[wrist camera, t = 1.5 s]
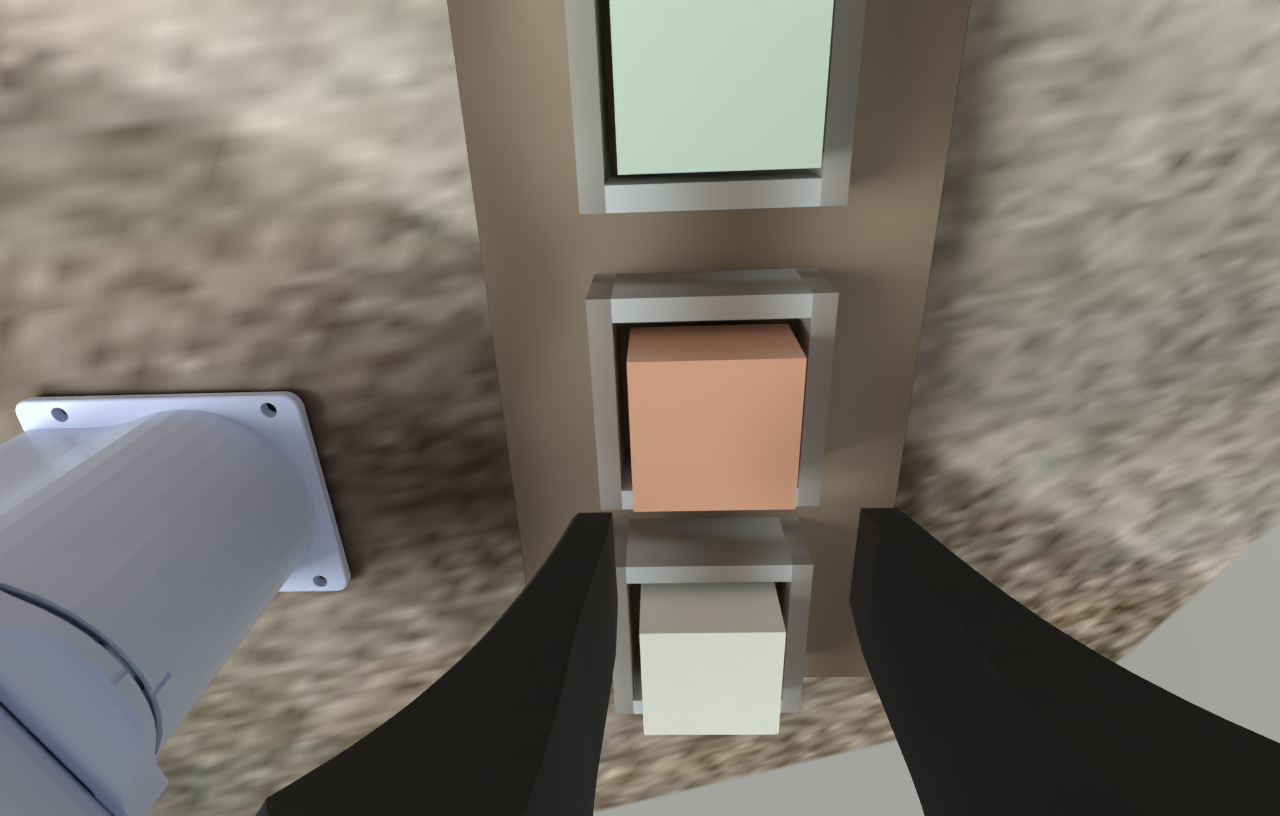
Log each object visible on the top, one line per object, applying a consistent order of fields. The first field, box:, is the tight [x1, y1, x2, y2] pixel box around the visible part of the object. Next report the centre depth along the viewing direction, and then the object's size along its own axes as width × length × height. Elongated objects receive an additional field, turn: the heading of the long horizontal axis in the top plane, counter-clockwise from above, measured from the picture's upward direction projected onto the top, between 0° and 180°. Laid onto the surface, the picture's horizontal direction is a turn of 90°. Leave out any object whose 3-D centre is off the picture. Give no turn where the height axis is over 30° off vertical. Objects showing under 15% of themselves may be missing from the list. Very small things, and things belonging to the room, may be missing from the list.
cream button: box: [639, 582, 786, 735], centre depth 20 cm, size 4×4×2 cm
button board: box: [447, 0, 971, 714], centre depth 19 cm, size 12×24×4 cm, turn 2°
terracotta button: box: [627, 324, 807, 512], centre depth 17 cm, size 4×4×2 cm
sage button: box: [610, 0, 834, 175], centre depth 14 cm, size 4×4×2 cm
